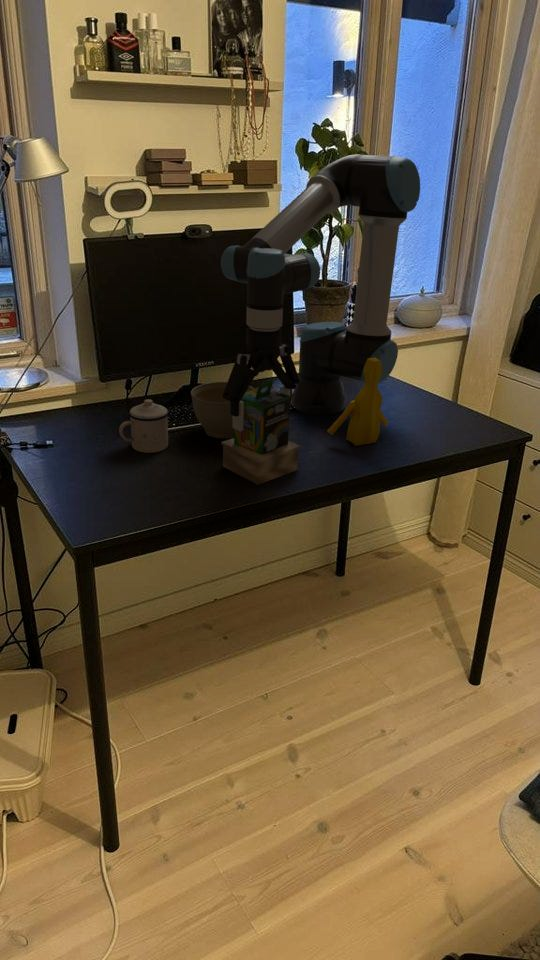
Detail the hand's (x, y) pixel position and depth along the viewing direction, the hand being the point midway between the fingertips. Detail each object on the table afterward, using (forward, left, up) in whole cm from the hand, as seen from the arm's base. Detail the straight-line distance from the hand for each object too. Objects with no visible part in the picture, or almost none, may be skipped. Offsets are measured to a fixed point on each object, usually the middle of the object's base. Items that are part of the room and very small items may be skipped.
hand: (261, 422), depth 161 cm
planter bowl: (-7, -22, -12) cm, 26 cm away
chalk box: (0, 0, -5) cm, 5 cm away
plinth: (0, 0, -11) cm, 11 cm away
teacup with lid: (+14, -26, -11) cm, 32 cm away
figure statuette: (-30, +4, -12) cm, 32 cm away
